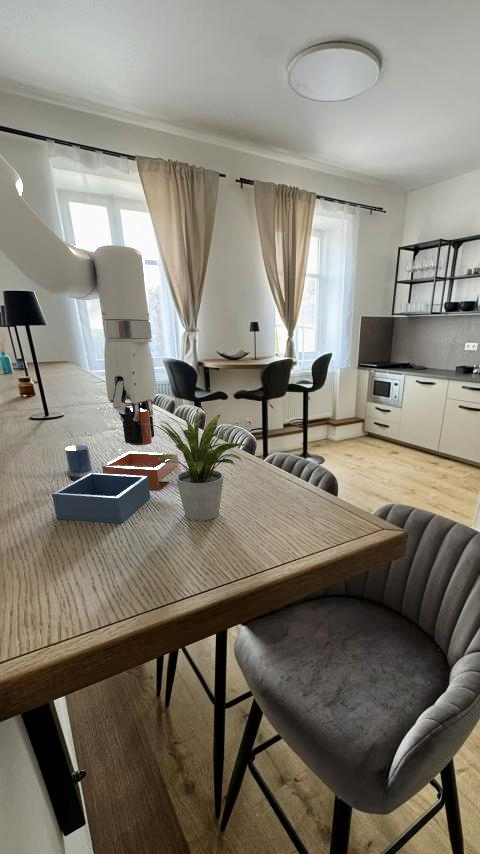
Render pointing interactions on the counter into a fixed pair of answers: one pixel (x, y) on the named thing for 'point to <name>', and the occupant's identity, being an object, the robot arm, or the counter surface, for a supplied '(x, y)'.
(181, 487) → the house plant
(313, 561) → the counter surface
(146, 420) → the red cylinder
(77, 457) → the tall blue post
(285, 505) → the counter surface
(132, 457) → the terracotta bin
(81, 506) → the blue bin
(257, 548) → the counter surface
